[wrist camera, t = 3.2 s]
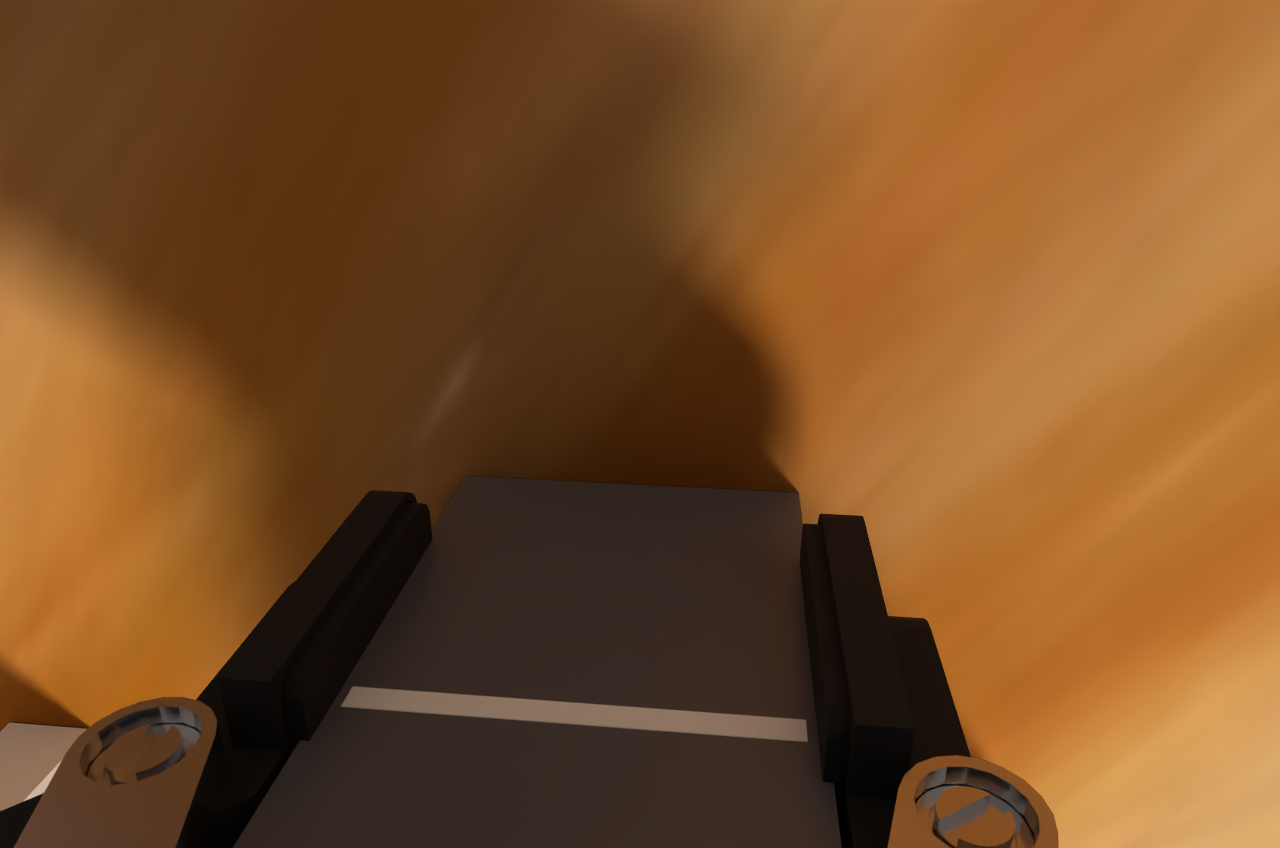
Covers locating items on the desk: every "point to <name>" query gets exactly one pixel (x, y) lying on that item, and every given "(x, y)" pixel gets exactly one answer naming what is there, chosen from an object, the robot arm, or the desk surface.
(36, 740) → the domino
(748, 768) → the domino
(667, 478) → the desk surface
